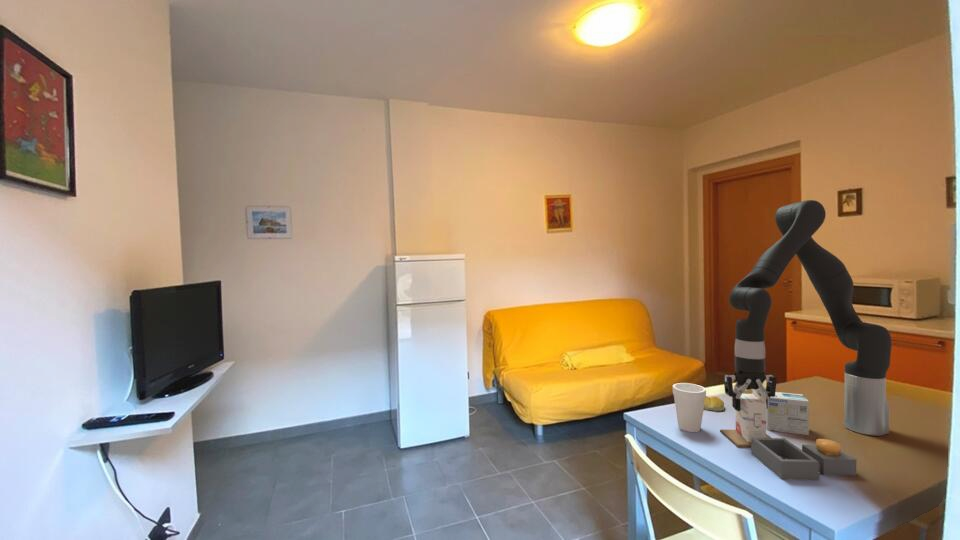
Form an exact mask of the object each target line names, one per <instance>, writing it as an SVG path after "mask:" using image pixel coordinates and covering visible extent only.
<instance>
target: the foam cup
mask: <svg viewBox="0 0 960 540" xmlns="http://www.w3.org/2000/svg"><path fill="white" fill-rule="evenodd" d="M672 394H673V399H674V406H675V411H676V419H677V426H678V428H679V429H680V430H683V431H686V432H690V433H696V432H700V431H701V428H702V422H703V414H704V410H705V409H704V403H705V398H706V396H707V389H706V387H704V386H702V385H698V384H695V383H689V382H680V383H679V382H678V383H674V384H672Z"/></svg>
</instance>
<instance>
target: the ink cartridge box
mask: <svg viewBox="0 0 960 540" xmlns="http://www.w3.org/2000/svg"><path fill="white" fill-rule="evenodd" d="M752 392H753V394H742V395H741V396H740V398H739V399H741V410H740V411H737V410H735V430H736V431H737V432H738V433H739V434H740V435H741V436H742V437H743V438H744V439H745V440H746V441H747V442H749V443H751V439H752V438H766V434H767V428H766V408H767V405H766V395H765V393H764V392H763V391H761V390H760V389H757V390H754V389H752ZM757 392H759V393H760V394H761V396H760V395H759V394H758V393H757Z"/></svg>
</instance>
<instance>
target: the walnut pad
mask: <svg viewBox="0 0 960 540" xmlns="http://www.w3.org/2000/svg"><path fill="white" fill-rule="evenodd" d="M719 433H721V434H722V435H723V436H724V437H725V438H726V439H727V440H728V441H730V442H731V443H732V444H733V445H735V446H736V448H749V449H751V443H749V442H747V441H746V440H745V439H744V438H743V437H742V436H741V435H740V434H739V433H738V432H737V431H736V429H719ZM766 438H772V437H771V436H770V435H769V434H767V433H766Z"/></svg>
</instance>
